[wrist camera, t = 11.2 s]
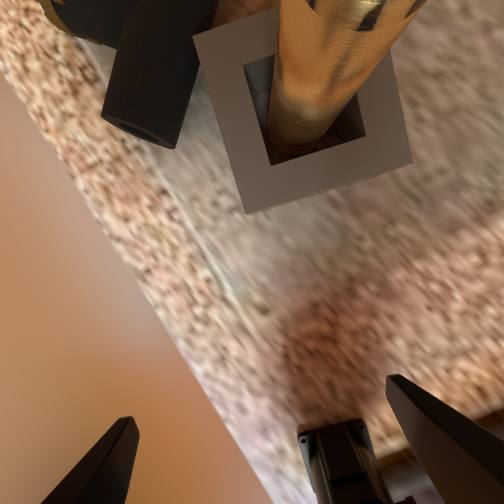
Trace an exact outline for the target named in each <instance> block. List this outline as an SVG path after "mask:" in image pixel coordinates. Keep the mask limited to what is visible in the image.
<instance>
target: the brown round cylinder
mask: <svg viewBox="0 0 504 504" xmlns="http://www.w3.org/2000/svg"><path fill="white" fill-rule="evenodd" d="M426 1H427V0H281V4H280V14H279V23H278V33H277V42H276V51H275V61H274V70H273V80H272V89H271V98H270V108H269V117H268V134H269V137H270V140H271V142H272V143H273V145H274V146H275V147H276V148H277V149H278V150H279V151H281V152H283V153H285V154H288V155H300V154H303V153H306V152H308V151H309V150H311V149H312V148H313V147H314V146H315V145H316V144H317V142H318V141H319V140H320V138H321V137H322V136H323V134H324V133H325V132H326V131H327V129H328V128H329V127H330V125H331V124H332V123H333V121H334V120H335V119H336V118H337V116H338V115H339V114H340V112H341V111H342V110H343V109H344V107H345V106H346V105H347V103H348V102H349V101H350V99H351V98H352V97H353V96H354V94H355V93H356V92H357V90H358V89H359V88H360V86H361V85H362V84H363V83H364V81H365V80H366V79H367V77H368V76H369V75H370V74H371V72H372V71H373V70H374V68H375V67H376V66H377V64H378V63H379V62H380V61H381V59H382V58H383V57H384V55H385V54H386V53H387V51H388V50H389V49H390V48H391V46H392V45H393V44H394V42H395V41H396V40H397V39H398V37H399V36H400V35H401V33H402V32H403V31H404V29H405V28H406V27H407V26H408V24H409V23H410V22H411V20H412V19H413V18H414V16H415V15H416V14H417V13H418V11H419V10H420V9H421V7H422V6H423V5H424V4H425V2H426Z"/></svg>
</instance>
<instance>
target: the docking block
mask: <svg viewBox="0 0 504 504" xmlns="http://www.w3.org/2000/svg"><path fill="white" fill-rule="evenodd" d="M279 14H280V5H278V6H275V7H272V8H270V9H267V10H264V11H261V12H258V13H256V14H253V15H250V16H247V17H244V18H242V19H239V20H236V21H233V22H230V23H228V24H225V25H222V26H219V27H216V28H214V29H211V30H208V31H205V32H202V33H200V34H197V35H194V36H192V37H193V40H194V44H195V47H196V50H197V54H198V57H199V60H200V64H201V67H202V71H203V74H204V77H205V81H206V84H207V87H208V91H209V94H210V97H211V101H212V104H213V107H214V111H215V114H216V117H217V121H218V124H219V127H220V131H221V134H222V137H223V141H224V144H225V147H226V151H227V154H228V157H229V161H230V164H231V167H232V171H233V174H234V177H235V181H236V184H237V187H238V191H239V194H240V197H241V201H242V204H243V207H244V211H245V214H246V215H250V214H254V213H257V212H260V211H263V210H267V209H270V208H273V207H277V206H280V205H283V204H286V203H290V202H293V201H296V200H300V199H303V198H306V197H309V196H313V195H316V194H319V193H323V192H326V191H329V190H332V189H336V188H339V187H342V186H346V185H349V184H352V183H355V182H359V181H362V180H365V179H369V178H372V177H375V176H378V175H382V174H384V173H387V172H390V171H392V170H395V169H398V168H401V167H403V166H406V165H409V164H412V163H413V161H412V156H411V152H410V147H409V142H408V137H407V132H406V127H405V122H404V117H403V112H402V108H401V103H400V98H399V93H398V88H397V83H396V78H395V73H394V69H393V64H392V59H391V54H390V49H389V50H388V51H387V53H386V54H385V55H384V57H383V58H382V59H381V61H380V62H379V63H378V64H377V66H376V67H375V68H374V70H373V71H372V72H371V74H370V75H369V76H368V77H367V79H366V80H365V81H364V83H363V84H362V85H361V86H360V88H359V89H358V90H357V92H356V93H355V94H354V96H353V97H352V98H351V99H350V101H349V102H348V103H347V105H346V106H345V107H344V109H343V110H342V111H341V112H340V114H339V115H338V116H337V118H336V123H337V127H338V132H339V136H340V140H341V144H340V145H337V146H334V147H330V148H327V149H324V150H321V151H318V152H315V153H311V154H308V155H305V156H302V157H299V158H296V159H292V160H289V161H286V162H283V163H280V164H277V165H273V166H270V162H269V159H268V155H267V151H266V148H265V144H264V141H263V137H262V133H261V130H260V126H259V123H258V119H257V116H256V112H255V108H254V105H253V101H252V98H251V96H252V95H255V94H258V93H261V92H264V91H267V90H270V89H272V80H273V70H274V61H275V51H276V42H277V33H278V23H279Z"/></svg>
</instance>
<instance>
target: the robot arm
mask: <svg viewBox="0 0 504 504" xmlns="http://www.w3.org/2000/svg"><path fill="white" fill-rule="evenodd" d="M385 392H386V397H387V400H388V402H389V404H390V406H391V408H392V410H393V412H394V414H395V416H396V418H397V420H398V422H399V424H400V426H401V428H402V430H403V432H404V434H405V436H406V438H407V440H408V442H409V444H410V446H411V448H412V449H413V451H414V453H415V455H416V456H417V458H418V460H419V461H420V463H421V465H422V466H423V468H424V470H425V471H426V473H427V474H428V476H429V478H430V479H431V481H432V483H433V484H434V486H435V488H436V489H437V491H438V493H439V494H440V496H441V497H442V499H443V501H444V502H445V504H504V441H503V440H502V439H500V438H499V437H497V436H496V435H494V434H492V433H491V432H489V431H488V430H486V429H485V428H483V427H482V426H480V425H478V424H477V423H475V422H474V421H472V420H471V419H469V418H467V417H466V416H464V415H463V414H461V413H460V412H458V411H457V410H455V409H453V408H452V407H450V406H449V405H447V404H446V403H444V402H443V401H441V400H439V399H438V398H436V397H435V396H433V395H432V394H430V393H428V392H427V391H425V390H424V389H422V388H421V387H419V386H418V385H416V384H414V383H413V382H411V381H410V380H408V379H407V378H405V377H404V376H402V375H400V374H393V375H388V376H387V378H386V391H385ZM359 425H361V426H359ZM139 437H140V435H139V430H138V427H137V425H136V422H135V420H134V418H133V417H132V416H126V417H121V418H119V419H118V420H117V421H116V422H115V423H114V424H113V425H112V426H111V427H110V428H109V430H108V431H107V432H106V433H105V434H104V435H103V436H102V437H101V438H100V439H99V441H98V442H97V443H96V444H95V445H94V446H93V447H92V448H91V449H90V450H89V451H88V452H87V454H86V455H85V456H84V457H83V458H82V459H81V460H80V461H79V462H78V463H77V464H76V466H75V467H74V468H73V469H72V470H71V471H70V472H69V473H68V474H67V475H66V477H64V479H63V480H62V481H61V482H60V483H59V484H58V485H57V486H56V487H55V488H54V489H53V491H52V492H51V493H50V494H49V495H48V496H47V497H46V498H45V499H44V500H43V502H42V503H41V504H125V500H126V497H127V493H128V488H129V484H130V479H131V475H132V471H133V466H134V461H135V456H136V452H137V448H138V443H139ZM297 438H298V443H299V446H300V450H301V453H302V456H303V459H304V463H305V466H306V469H307V472H308V476H309V479H310V482H311V485H312V488H313V491H314V493H316V497H317V502H318V504H417V503H416V502H415V500H414V498H413V496H412V495H411V496H408V497H405V500H402V501H399V502H397V503H394V502H393V500H392V498H391V496H390V494H389V492H388V489H387V487H386V485H385V483H384V481H383V479H382V477H381V475H380V473H379V471H378V467H377V463H376V460H375V456H374V452H373V448H372V444H371V441H370V437H369V433H368V429H367V426H366V424H365V422H364V420H362V419H356V420H352V421H348V422H344V423H340V424H335V425H331V426H327V427H323V428H319V429H315V430H311V431H307V432H303V433H300V434H299V435H298V436H297ZM302 439H304V440H302Z"/></svg>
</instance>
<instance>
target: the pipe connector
mask: <svg viewBox="0 0 504 504" xmlns="http://www.w3.org/2000/svg"><path fill="white" fill-rule="evenodd" d="M35 1H37V2H40V4H41V6H42V8H43V10H44V11H45V13H44V15H45V16H46V17H47V18H48V19H49V20H50V21H51V22H52V23H53V24H54V25H55V26H56V27H57V28H58V29H59V30H62V31H64V32H66V33H68V34H71V35H74V36H76V37H79V38H83V39H85V40H88V41H90V42H93V43H96V44H98V45H100V44H104V45H107V46H109V47H112V48H114V49H117V52H116V56H115V60H114V64H113V68H112V72H111V76H110V80H109V84H108V88H107V93H106V97H105V101H104V105H103V109H102V113H101V117H102V118H103V119H105V120H106V121H108V122H109V123H111V124H112V125H114V126H116V127H118V128H120V129H121V130H123V131H125V132H127V133H129V134H132V135H134V136H136V137H138V138H140V139H143V140H146V141H149V142H151V143H154V144H157V145H160V146H162V147H165V148H168V149H175V147H176V144H177V140H178V137H179V134H180V130H181V127H182V123H183V120H184V117H185V113H186V110H187V106H188V103H189V100H190V96H191V93H192V89H193V86H194V83H195V79H196V76H197V72H198V69H199V66H200V60H199V57H198V54H197V50H196V47H195V44H194V40H193V37H192V36H194V35H197V34H200V33H202V32H205V31H208V30H210V28H211V25H212V22H213V18H214V15H215V11H216V8H217V5H218V1H219V0H35Z"/></svg>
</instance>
